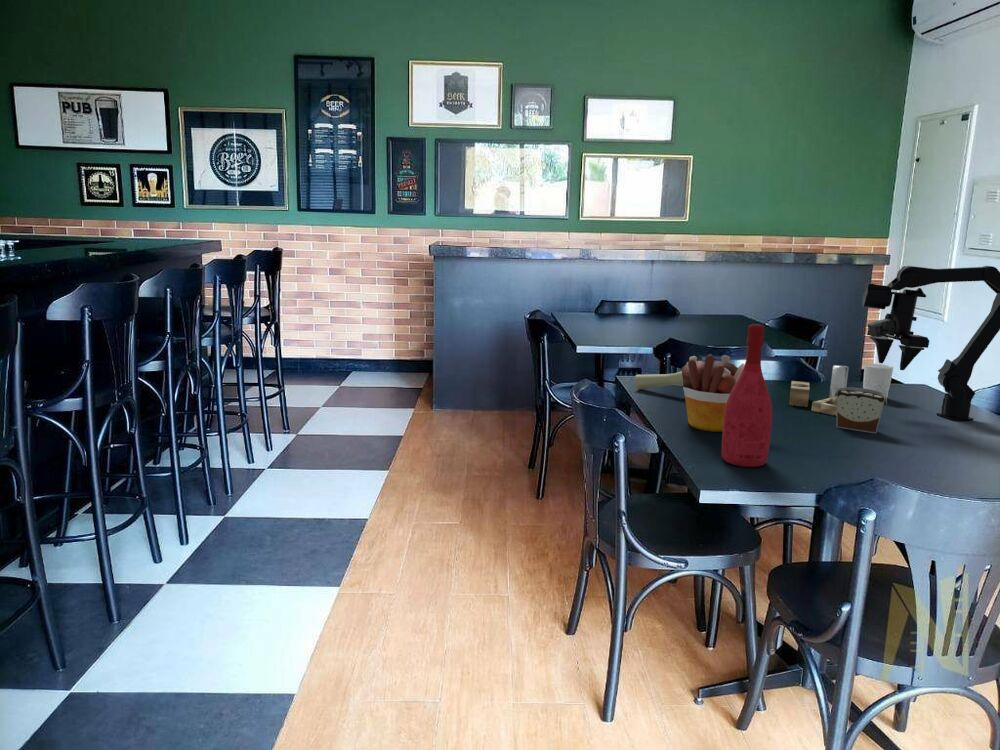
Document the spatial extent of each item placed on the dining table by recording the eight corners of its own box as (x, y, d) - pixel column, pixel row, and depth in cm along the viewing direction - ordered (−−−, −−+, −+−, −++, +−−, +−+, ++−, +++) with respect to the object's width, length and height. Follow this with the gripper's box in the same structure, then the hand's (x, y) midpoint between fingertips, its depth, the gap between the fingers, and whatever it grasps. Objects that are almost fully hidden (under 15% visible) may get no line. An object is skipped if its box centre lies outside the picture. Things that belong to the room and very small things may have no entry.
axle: (846, 413, 206) (851, 367, 203) (835, 414, 204) (841, 368, 202) (834, 409, 210) (840, 364, 207) (824, 410, 208) (829, 365, 205)
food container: (886, 429, 189) (891, 391, 187) (882, 434, 184) (888, 395, 182) (834, 421, 196) (839, 385, 194) (830, 426, 191) (834, 388, 189)
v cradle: (833, 406, 214) (834, 398, 213) (850, 418, 200) (851, 409, 200) (804, 404, 214) (805, 396, 214) (819, 416, 201) (820, 407, 200)
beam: (789, 396, 225) (791, 380, 224) (807, 398, 223) (809, 382, 222) (789, 405, 214) (790, 387, 213) (807, 407, 212) (809, 389, 211)
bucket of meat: (689, 414, 200) (695, 342, 196) (752, 423, 191) (759, 348, 188) (666, 430, 183) (672, 351, 179) (734, 441, 174) (742, 359, 171)
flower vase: (647, 412, 232) (756, 406, 210) (627, 406, 223) (740, 400, 201) (647, 375, 234) (756, 365, 212) (628, 368, 225) (739, 357, 203)
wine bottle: (757, 455, 164) (770, 321, 158) (775, 469, 154) (789, 327, 148) (714, 454, 164) (725, 320, 158) (729, 468, 154) (742, 326, 148)
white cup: (882, 395, 231) (886, 364, 229) (893, 401, 223) (897, 368, 221) (856, 394, 231) (860, 363, 229) (866, 399, 224) (870, 367, 222)
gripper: (855, 305, 211) (845, 358, 215) (898, 314, 193) (886, 372, 197) (890, 307, 213) (880, 360, 216) (936, 317, 195) (923, 374, 198)
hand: (891, 366), depth 207 cm, fingers open, 9 cm apart
